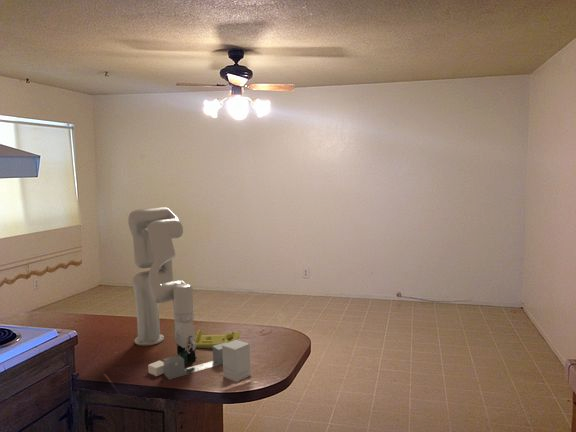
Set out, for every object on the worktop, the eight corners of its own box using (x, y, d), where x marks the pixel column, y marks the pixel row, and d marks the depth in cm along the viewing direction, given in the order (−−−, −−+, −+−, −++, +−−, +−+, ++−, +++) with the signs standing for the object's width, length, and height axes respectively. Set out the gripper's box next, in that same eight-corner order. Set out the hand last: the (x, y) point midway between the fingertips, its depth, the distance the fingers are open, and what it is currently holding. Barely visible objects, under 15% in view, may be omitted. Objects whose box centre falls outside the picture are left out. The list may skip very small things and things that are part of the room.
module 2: (213, 360, 186) (212, 345, 186) (226, 356, 190) (226, 342, 189) (219, 364, 182) (218, 349, 181) (232, 360, 185) (232, 346, 185)
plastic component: (192, 344, 200) (199, 327, 208) (197, 356, 204) (204, 339, 212) (236, 344, 195) (242, 326, 203) (240, 356, 199) (246, 338, 207)
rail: (164, 376, 175) (164, 374, 175) (226, 358, 190) (226, 356, 190) (169, 381, 171) (169, 379, 171) (232, 362, 186) (232, 360, 186)
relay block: (148, 375, 177) (148, 364, 176) (160, 370, 181) (159, 360, 180) (156, 378, 174) (156, 368, 173) (167, 373, 177) (167, 363, 177)
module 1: (164, 374, 175) (163, 358, 174) (179, 370, 178) (178, 354, 178) (169, 379, 171) (168, 363, 170) (184, 374, 174) (184, 359, 173)
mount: (191, 358, 191) (190, 346, 191) (199, 360, 189) (199, 348, 189) (172, 368, 182) (171, 356, 182) (180, 371, 180) (180, 358, 179)
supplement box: (251, 376, 173) (250, 343, 172) (236, 384, 167) (235, 349, 166) (237, 371, 178) (236, 339, 176) (222, 378, 172) (221, 344, 171)
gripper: (166, 313, 188) (169, 354, 190) (183, 323, 174) (186, 368, 176) (184, 309, 193) (186, 350, 194) (202, 319, 179) (204, 363, 180)
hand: (186, 358), depth 185 cm, fingers open, 9 cm apart
